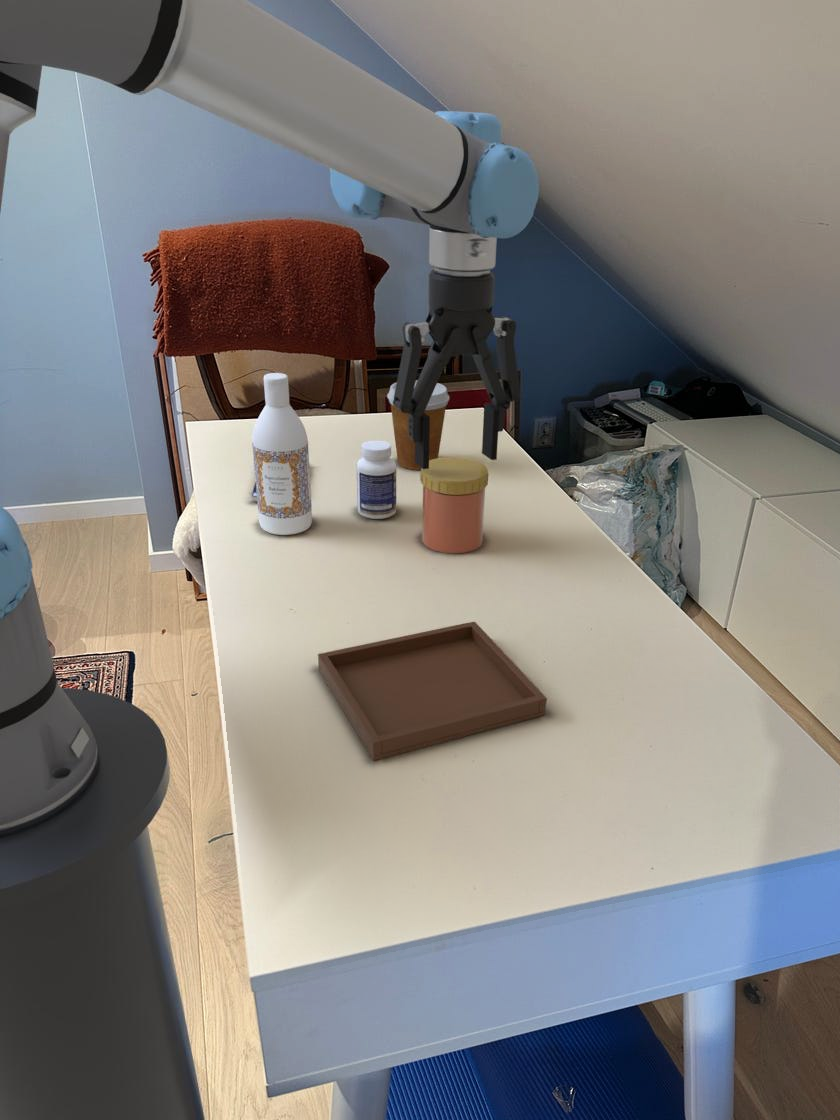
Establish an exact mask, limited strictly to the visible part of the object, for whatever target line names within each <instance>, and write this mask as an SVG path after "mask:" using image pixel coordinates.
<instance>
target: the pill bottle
mask: <svg viewBox="0 0 840 1120" xmlns="http://www.w3.org/2000/svg"><path fill="white" fill-rule="evenodd" d="M360 453H361V458H360V459H359V460H358V461H357V462H356V494H357V495H356V496H357V497H356V498H357V499H356V500H357V512H358V514H359V515H360V516H362V517H364V518H367V519H372V520H382V519H388V518H390V517H393V516H394V515H395V514H396V512H397V464H396V462H395V460H394V459H393V458H391V456H392V445H391V443H389V442H387V441H384V440H368V441H365V442H363V443H362V444H361V452H360Z"/></svg>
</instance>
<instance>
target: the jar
mask: <svg viewBox="0 0 840 1120" xmlns="http://www.w3.org/2000/svg"><path fill="white" fill-rule="evenodd" d="M485 496H486V488H484V489H483V490H481V491H479V492H476V493H472V494H464V495H451V494H443V493H438V492H435V491H432V490H429V489H427V488H426V487H424V486H423V485H422V512H421V513H422V516H421V518H422V520H421V541H422V543H423V545H424V546H425V547H427V548H429V549H430V550H432V551H434V552H439V553H444V554H463V553H469V552H473V551H474V550H477V549H478V548H479V547H481V546H482V544H483V536H484V535H483V534H484V516H485V515H484V514H485V502H486V501H485V498H486V497H485Z"/></svg>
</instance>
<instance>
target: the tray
mask: <svg viewBox="0 0 840 1120" xmlns="http://www.w3.org/2000/svg"><path fill="white" fill-rule="evenodd" d="M317 660H318V663H317V664H318V671H319V673H320V675H321V676H322V678H323V680H324V682H325V683H326V685H327V686H328V688H329V690H330V691H331V693H332V694H333V696H334V697H335V700H336V701H337V703H338V705H339V706H340V708H341V710H342V711H343V713H344V715H345V716H346V717H347V719H348V721H349V722H350V724H351V726H352V727H353V729H354V731H355V732H356V734H357V736H358V737H359V739H360V741H361V742H362V745H364V747H365V749H366V750H367V753H368V754H369V756H370V757H371V759H372V760H373V761H378V760H381V759H384V758H389V757H393V756H395V755H401V754H403V753H407V752H412V751H415V750H419V749H422V748H426V747H430V746H434V745H438V744H441V743H445V742H449V741H453V740H456V739H460V738H463V737H468V736H472V735H475V734H479V733H483V732H487V731H490V730H493V729H498V728H501V727H504V726H509V725H512V724H517V723H520V722H524V721H527V720H531V719H535V718H539V717H542V716H545V715H546V709H547V701H548V700H547V699H548V698H547V697H546V696H545V695H544V694H543V692H541V690H540V689H539V688H538V687H537V686H536V685H535V684H534V683H533V682H532V681H531V680H530V679H529V677H527V676H526V674H525V673H524V672H523V671H522V670H521V669H520V668H519V666H517V665H516V664H515V663H514V661H513V660H512V659H511V658H510V657H509V656H508V655H507V654H506V653H505V652H504V650H502V649H501V648H500V647H499V646H498V644H497V643H496V642H495V641H494V640H493V639H492V638H491V637H490V636H489V635H488V634H487V633H486V631H484V630H483V629H482V627H481V626H480V625H479V624H478V623H477V622H476V621H470V622H465V623H464V622H463V623H460V624H456V625H455V624H454V625H450V626H445V627H441V628H436V629H431V630H426V631H422V632H416V633H413V634H408V635H402V636H398V637H393V638H387V639H383V640H378V641H374V642H369V643H364V644H359V645H355V646H351V647H345V648H340V649H335V650H331V651H327V652H321V653H318V654H317Z"/></svg>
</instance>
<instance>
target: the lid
mask: <svg viewBox="0 0 840 1120" xmlns="http://www.w3.org/2000/svg"><path fill="white" fill-rule="evenodd" d="M419 477H420V478H419V479H420V483H421V485H422V487H423V486H424V487H426V488H427V489H429V490H432V491H435V492H438V493H443V494H451V495H464V494H472V493H476V492H479V491H481V490H483V489H484V488H485V489H486V488H487V487H488V485H489V484H488V483H489V469H488V467H487V466H486V464H484V463H482V462H480V461H477V460H475V459H471V458H466V457H458V456H446V457H438V458H436V459H432V460H429V469H422V468H421V470H420V476H419Z"/></svg>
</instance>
